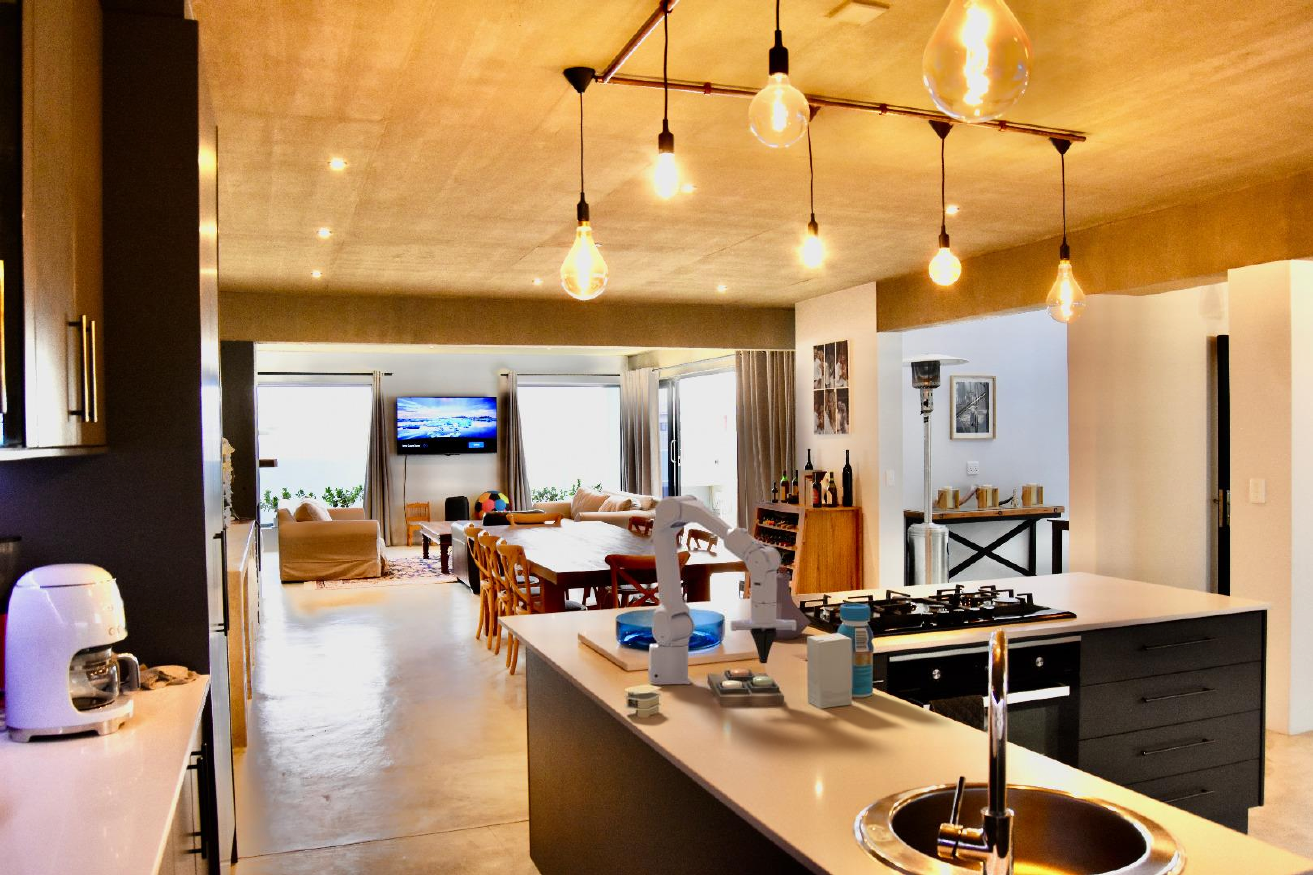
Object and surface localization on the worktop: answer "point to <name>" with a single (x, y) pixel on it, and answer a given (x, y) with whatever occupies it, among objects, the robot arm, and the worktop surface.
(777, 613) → the flask
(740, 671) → the terracotta button
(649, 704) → the beige layered block
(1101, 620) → the worktop surface
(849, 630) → the beverage bottle
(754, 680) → the sage button
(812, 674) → the skincare box
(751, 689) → the button board
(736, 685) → the cream button
